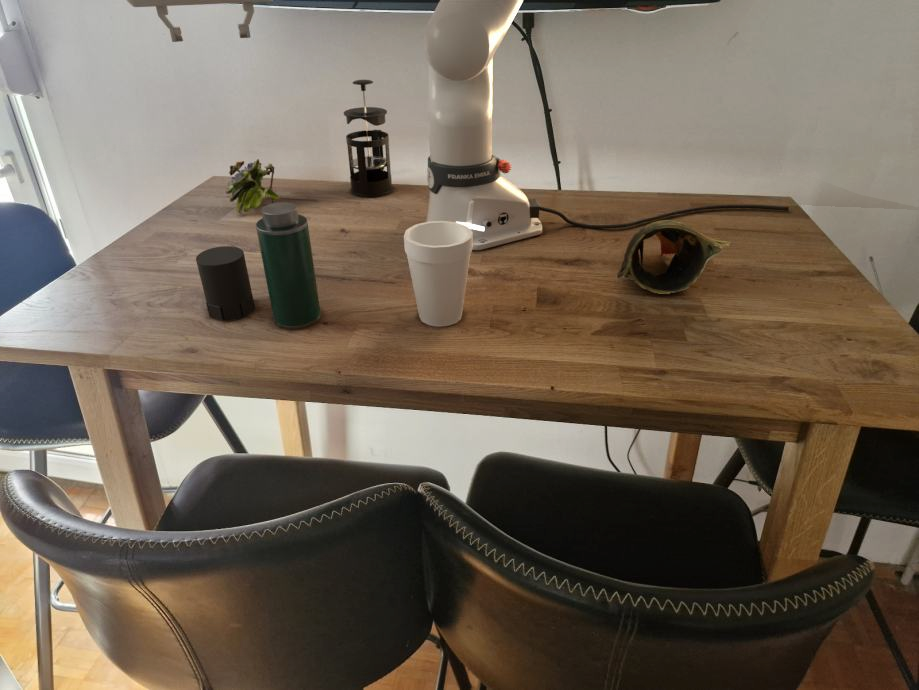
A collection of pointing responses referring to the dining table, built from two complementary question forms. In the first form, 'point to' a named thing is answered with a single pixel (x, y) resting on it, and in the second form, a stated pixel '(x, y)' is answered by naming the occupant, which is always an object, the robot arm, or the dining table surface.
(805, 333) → the dining table surface
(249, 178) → the passion flower
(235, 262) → the lid
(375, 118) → the french press
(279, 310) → the thermos
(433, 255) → the foam cup
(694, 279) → the pot
